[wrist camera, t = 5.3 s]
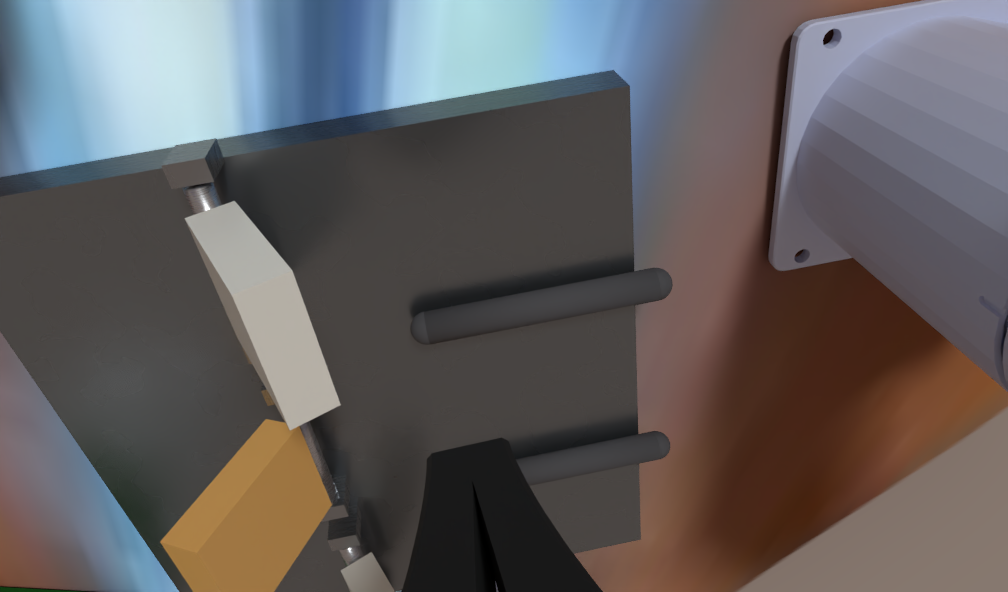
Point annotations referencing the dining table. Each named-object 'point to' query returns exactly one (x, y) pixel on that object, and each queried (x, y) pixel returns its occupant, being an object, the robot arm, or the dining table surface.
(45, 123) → the dining table surface
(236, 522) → the orange paddle
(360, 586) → the ivory paddle
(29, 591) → the milk carton
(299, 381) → the ivory paddle
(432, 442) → the panel
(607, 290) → the cords
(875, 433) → the dining table surface
